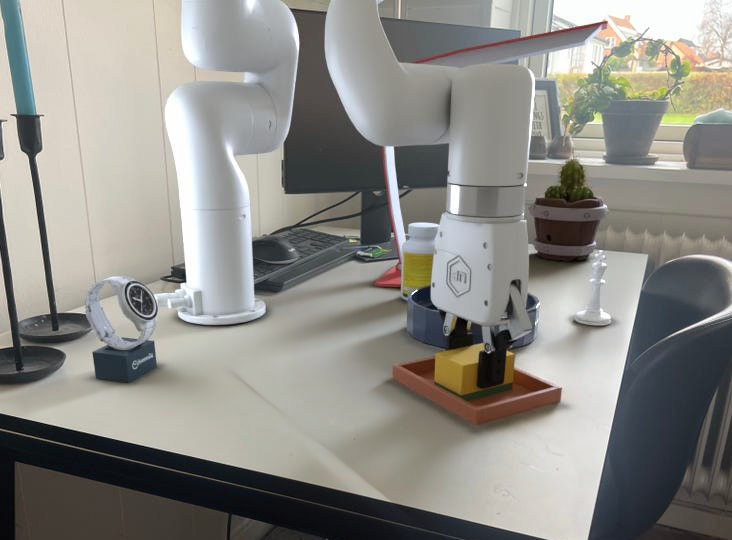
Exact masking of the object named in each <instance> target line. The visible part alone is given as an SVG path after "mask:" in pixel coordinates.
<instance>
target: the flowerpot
mask: <svg viewBox="0 0 732 540" xmlns="http://www.w3.org/2000/svg"><path fill="white" fill-rule="evenodd" d="M578 156H580V154H578V155H576V156H575V152H573V156H572V158H571V157H570V156H568V157H566V158H565V159H566V160H565V161H563V162H562V164H563V165H559V168H558V169H557V170H558V171H557V172H556V173H557V175H558V177H557V181H552V182H553V183H554V185H549V186H548V187H546V191H545V192H544V194H539V195H538V196H537V197H535V200H534V201H532V202H530V203H529V206H528V207H527V210H528V211H529V215H530V216H531V217H533V222H534V229H535V235H536V237H535V238H534V239H533V242H532V246H533V248H534V250H535V251H537V255H538V256H539V257H541V258H542V259H546V260H552V261H561V260H562V261H565V262H569V261H572V260H574V259H576V261H584V260H587V259H589V257H590V256H591V254H593V253H594V251H596V250H597V242H596V241H595V239H596V236H597V233H598V230H599V227H600V224H601V220H604V219H606V218H607V217H608V214H610V210H609V209H608V206H607V204H605V203H604V199H603V197H601V196H596V195H594V192H593V191H594V189H592V188H593V186H592V185H591V186H589V185H588V184H587V182H589V180H588V178H587V176H588V174H589V173H588V172H589V170H588V168H584V167H586V164H585V162H581V161H580V160H581V158H580V157H579V158H578V159H577V157H578ZM560 168H561V169H560Z"/></svg>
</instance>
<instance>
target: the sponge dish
mask: <svg viewBox="0 0 732 540" xmlns="http://www.w3.org/2000/svg"><path fill="white" fill-rule="evenodd" d="M435 356H436V355H433V356H429V357H425V358H424V357H423V358H419V359H414V360H410V361H406V362H401V363H400V362H399V363H395V364H392V373H391V374H392V379H393V380H395V381H396V382H398V383H400V384H402V385H403V386H405V387H407V388H409V389H411V390H412V391H414V392H416V393H418V394H419V395H421V396H423V397H425V398H427V399H428V400H430V401H432V402H434V403H435V404H437V405H439V406H441V407H442V408H444V409H446V410H448V411H450V412H451V413H453V414H455V415H457V417H458V416H459V417H460V418H462V419H464V420H465V421H467V422H469V423H471V424H472V425H474V426H479V425H483V424H486V423H490V422H493V421H497V420H501V419H504V418H507V417H510V416H511V417H512V416H514V415H518V414H522V413H524V412H529V411H532V410H535V409H536V410H537V409H539V408H543V407H546V406H550V405H554V404H557V403H561V400H562V391H563V387H562V386H559V385H557V384H555V383H553V382H550V381H548V380H546V379H544V378H541V377H539V376H536V375H534V374H532V373H530V372H527V371H525V370H522V369H521V368H518V367H516V366H514V374H513V386H512V389H511V390H507V391H504V392H500V393H496V394H492V395H488V396H484V397H481V398H477V399H473V400H469V401H465V400H463V399H461V398H459V397H457V396H456V395H454V394H452V393H450V392H448V391H446V390H444V389H442V388H441V387H439V386H437V385H435V384H434V382H435V381H434V379H435Z"/></svg>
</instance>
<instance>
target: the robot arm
mask: <svg viewBox="0 0 732 540" xmlns="http://www.w3.org/2000/svg"><path fill="white" fill-rule="evenodd" d="M383 1H385V0H330V2H329V5H328V8H327V10H326V11H327V12H326V16H325V23H324V56H325V62H326V67H327V69H328V73H329V76H330V79H331V81H332V83H333V86H334V88H335V89H336V92H337V94H338V97H339V99H340V101H341V103H342V106H343V108H344V111H345V112H346V114H347V116H348V118H349V120H350V122H351V123H352V125H353V126H354V128H355V129H356V130H357V132H358V133H359V134H360V135H361V136H362V137H363V138H364V139H366V141H369V142H371V143H372V144H374V145H376V146H380V147H382V146H385V147H394V148H395V147H407V146H409V147H410V146H431V145H432V146H433V145H445V144H448V159H447V181H446V182H447V183H446V201H445V212H442V214H441V217H440V220H439V223H438V225H439V228H438V232H437V237H436V243H435V250H434V258H433V267H432V278H431V301H432V303H433V304H434V305H435V306H436V307H437V309H438V310H439V314H440V316H441V319H442V321H443V323H444V326H443V332H444V334H445V335H446V336H448V337H447V340H446V348H445V351H448V350H453V349H458V348H462V347H467V346H472V345H473V333H471V332H469V333H467V332H468V331H469V330H470V326H471V322H473V323H476V324H479V325H482V334H483V345H484V350H482V351H479V359H478V362H479V365H478V379H477V386H478V387H479V388H481V389H485V388H489V387H493V386H497V385H501V384H503V382H504V377H505V365H506V353H507V351H508V350H510V348H511V347H512V344H513V343H514V342H516V341H517V340H518V339H519V338H520V337H522V336H524V335H526V334H528V333H530V332H531V331H532V328H533V327H532V324H531V321H530V318H529V316H528V313H527V310H526V302H527V294H528V293H529V292H528V291H529V272H530V271H529V270H530V266H529V265H530V254H529V235H528V227H527V226H528V225H527V220H526V219H525V209H526V195H527V182H528V181H527V180H528V172H529V159H530V149H531V139H532V138H531V137H532V136H531V135H532V124H533V112H534V99H535V87H536V86H535V85H536V80H535V76H534V74H533V71H532V70H531V69H529V68H528V67H527V66H525V65H521V64H520V65H519V64H512V63H499V64H480V65H470V66H465V67H463V68H457V67H450V66H439V65H427V64H413V63H411V62H399V60H398V59H397V57H396V54H395V52H394V50H393V48H392V46H391V44H390V42H389V39H388V37H387V35H386V33H385V30H384V27H383V23H382V22H381V18H380V13H379V7H378V5H379V4H380V3H383ZM180 12H181V14H180V39H181V40H180V41H181V48H182V51H183V54H184V56H185V58H186V59H187V61H188V62H189V63H190V64H191V65H193V66H194V67H197V68H199V69H202V70H207V71H214V72H223V73H224V72H226V73H244V75H243V81H225V80H223V81H222V80H221V81H220V80H198V81H197V80H196V81H191V82H187V83H184V84H181V85H180V86H178V87H177V88H175V89H174V90H173V91H172V92H171V94H170V95H169V96H168V98H167V100H166V104H165V107H164V108H165V110H164V119H165V127H166V132H167V136H168V138H169V142H170V147H171V150H172V154H173V158H174V163H175V170H176V175H177V185H178V196H179V206H180V217H181V227H182V229H181V230H182V241H183V242H182V243H183V254H184V265H185V278H186V282H181V283H180V288H178V289H175V291H174V292H162V293H155V294H154V293H153V295H154V297H155V299H156V301H157V304H158V309H159V308H165V307H168V309H170V310H172V309H177V315H178V318H179V319H181V320H183V321H184V322H187V323H191V324H195V325H205V326H225V325H226V326H227V325H237V324H241V323H247V322H250V321H254V320H256V319H259V318H260V317H262V316H264V315H265V314H266V309H267V308H266V303H265V302H264V301H263V300H261V299H259V298H257V297H255V282H254V281H255V280H254V278H255V277H254V260H253V259H254V258H253V256H254V255H253V238H252V237H253V236H252V217H251V202H250V200H251V199H250V198H251V197H250V189H249V185H248V181H247V179H246V177H245V175H244V173H243V171H242V169H241V168H240V166H239V164H238V163H237V161H236V159H235V157H237V156H244V155H245V156H249V155H250V156H251V155H261V154H267V153H272V152H275V151H276V150H278V149H279V148H281V146H282V145H283V144H284V142H285V141H286V139H287V137H288V134H289V132H290V128H291V123H292V122H291V121H292V115H293V108H294V98H295V89H296V81H297V73H298V72H297V71H298V64H299V52H300V37H299V36H300V35H299V30H298V25H297V22H296V18H295V16H294V14H293V12H292V11H291V9H290V8H289V7H288V5H287V4H286V3H285V2H283V1H281V0H181V10H180ZM510 320H511V322H510ZM495 326H499V333H498V334H497V335H496V336H495V334H494V327H495ZM511 349H512V348H511Z"/></svg>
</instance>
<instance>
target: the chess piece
mask: <svg viewBox="0 0 732 540" xmlns="http://www.w3.org/2000/svg"><path fill="white" fill-rule="evenodd" d="M593 257H594V259H597V261H596V262H594V263H592V264H591V270H592V275H593V278H591V279H589V281H588V283H590V284H591V285H592V289H591V294H590V298H589V302H588V306H587V307H585V308H584V309H585V310H580V311H578V312H576V313H575V316H574V321H575V322H577V323H579V324H582V325H587V326H595V327H596V326H600V327H601V326H608V325H610V324H611V323H612V321H611V320H612V316H611V315H609V314H608V313H606V312H603V311H604V309H602V307H601V285H602V286H603V285H605V284H606V280H604V279H603V276H604V274H605V271H606V270H607V267H608V265H607V264H606V263H604V262H603V261H606V260H607V256H606V255H604V250H598V253H595V254H594V256H593Z"/></svg>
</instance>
